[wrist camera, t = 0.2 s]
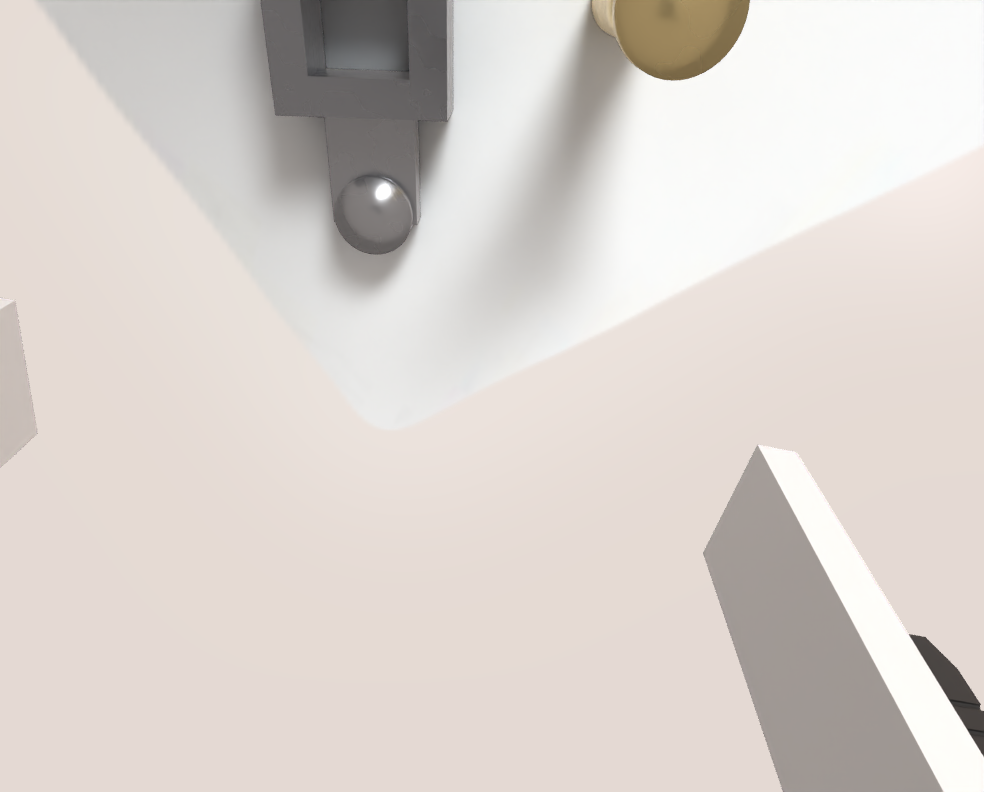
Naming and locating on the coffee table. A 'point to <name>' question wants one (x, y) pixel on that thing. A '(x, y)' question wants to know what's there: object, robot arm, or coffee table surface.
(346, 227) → the chain ends
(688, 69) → the pin
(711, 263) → the coffee table surface
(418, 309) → the coffee table surface
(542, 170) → the coffee table surface
